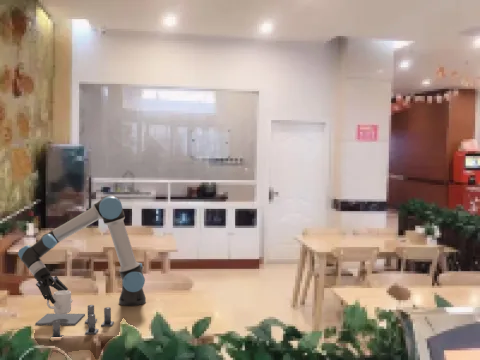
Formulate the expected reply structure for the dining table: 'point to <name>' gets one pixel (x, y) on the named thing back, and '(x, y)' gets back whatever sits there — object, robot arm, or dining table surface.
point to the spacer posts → (88, 322)
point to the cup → (62, 302)
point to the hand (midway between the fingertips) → (65, 305)
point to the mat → (64, 319)
